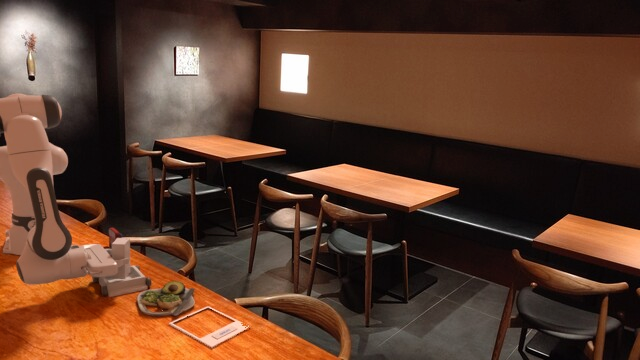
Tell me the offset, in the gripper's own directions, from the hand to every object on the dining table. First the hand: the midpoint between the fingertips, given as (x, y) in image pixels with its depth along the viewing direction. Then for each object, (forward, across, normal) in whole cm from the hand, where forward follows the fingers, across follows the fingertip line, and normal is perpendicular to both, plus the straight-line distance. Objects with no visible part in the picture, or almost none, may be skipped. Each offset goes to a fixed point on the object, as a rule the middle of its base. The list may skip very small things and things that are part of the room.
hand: (123, 256), depth 165 cm
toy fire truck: (+4, +23, +10) cm, 26 cm away
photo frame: (+12, -39, +10) cm, 42 cm away
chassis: (-1, 0, +10) cm, 10 cm away
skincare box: (-1, 0, +7) cm, 7 cm away
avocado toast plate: (+7, -19, +10) cm, 23 cm away
